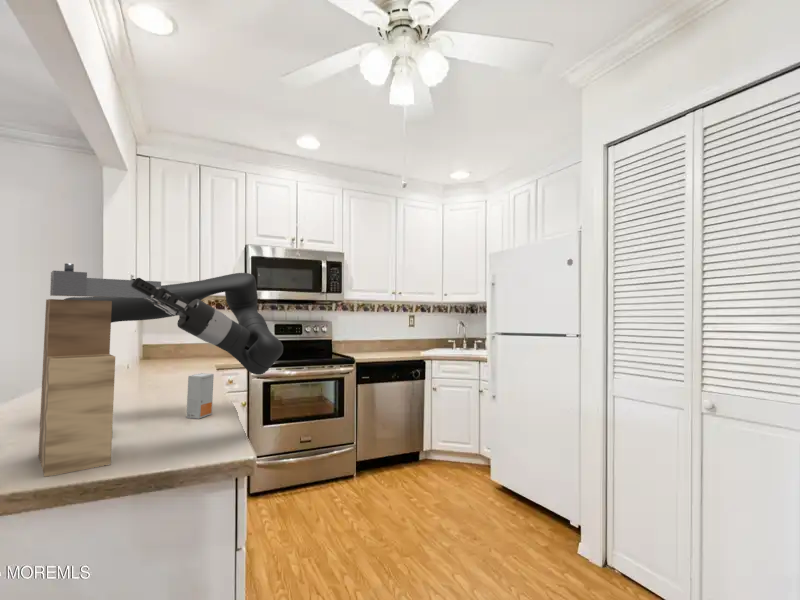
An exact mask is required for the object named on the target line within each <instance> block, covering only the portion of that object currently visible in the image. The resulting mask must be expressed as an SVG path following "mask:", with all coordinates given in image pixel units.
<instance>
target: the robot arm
mask: <svg viewBox="0 0 800 600" xmlns="http://www.w3.org/2000/svg"><path fill="white" fill-rule="evenodd" d="M131 280H135V281H134V282H133V284H132V287H133V288H135V289H137V290H139V291H141V292H143V293H144V294H146V295H148V296H149V295H150V294H151V295H150V297H151V298H127V297H88V296H69V297H67V298H64V299H62V300H93V301H112V310H111V324H112V323H117V322H130V321H131V322H133V321H135V322H137V321H148V320H149V321H150V320H159V319H164V318H171V317H177V316H178V319H177V323H176V324H177V327H178V329H181V330H182V331H185V332H186V333H188V334H190V335H192V336H193V337H196V338H198V339H200V340H201V341H203V342H205V343H208V344H211V345H213V346H216V347H217V348H219V349H221V350H223V351H225V352H227V353H228V354H230V355H231V356H232V357H233V359H236V360H237V362H239V363H240V364H241V365H242V366H243V368H245V369H246V370H247V371H248V372H249V373H250V374H253V375H263V374H265V373H266V372H268V371H269V369H270V368H271V367H272V366H273V365H274V364H275V363H276V362H277V361H278V359H279V358H280V357H281V356H282V355H283V353H284V345H283V343H282V341H281V340H280V339H278V338H277V337H276V336H275V335H274V334H273V333H272V332H271V331H270V328H269V326H268V323H267V322H266V319H265V318H264V316H263V315H262V314H261V313H259V310H258V298H259V297H258V289H257V281H256V276H255V275H254V274H252V273H248V272H237V273H229V274H225V275H220V276H215V277H212V278H208V279H206V278H205V279H201V280H196V281H188V282H181V283H174V284H165V285H162V284H161V288H160V287H155V286H153V285H151V284H150V283H148V282H146V281H147V280H144V279H142V278H141V277H136V278H131ZM220 293H224V295H225V302H226V304H227V306H228V308H229V309H230V311H231V313H233V315H234V316H235V318H236V320H237V321H235V320H233V319H231V318H230V317H229V316H227V315H226V314H224V313H223V312H221V311H219V310H218V309H216V308H214V307H213V306H211V305H209V304H207V303H205V301H202V300H204V299H205V298H207V297H209V296H213V295H216V294H220ZM246 347H247V348H249V349H246Z"/></svg>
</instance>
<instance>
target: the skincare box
mask: <svg viewBox="0 0 800 600" xmlns="http://www.w3.org/2000/svg"><path fill="white" fill-rule="evenodd" d="M214 376H215V374H214V373H204V372H203V373H202V372H201V373H194V374H192V375H188V379H187V395H186V396H187V397H186V400H187V401H186V414H185V417H186V418H187V419H198V420H199V419H202V418H205V417H208V416H211V415H213V400H214V399H213V398H214V397H213V396H214V394H213V393H214V379H215V377H214Z"/></svg>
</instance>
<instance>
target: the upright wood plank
mask: <svg viewBox="0 0 800 600" xmlns="http://www.w3.org/2000/svg"><path fill="white" fill-rule="evenodd" d="M111 310H112V301H93V300H63V299H59V298H58V299H56V298H55V299H54V298H53V299H52V298H48V299H45V312H44V315H45V316H44V317H45V318H44V335H43V357H42V376H41V378H42V379H41V396H40V398H41V399H40V414H39V415H40V419H39V434H38V435H39V437H38V439H39V440H38V453H37V454H38V455H37V456H38V459H40V460H39V462H40V466H41V469H42V473H43V477H45V478H46V477H51V476H58V475H61V474H68V473H73V472H79V471H83V470H89V469H95V468H99V466H100V467H105V466H104V465H106V466H109V465H108V464H111V465H112V446H113V445H112V443H113V423H114V422H113V420H114V396H115V375H116V356H115V355H112V354H110V352H111V331H112V330H111V329H112V323H111ZM94 467H95V468H94Z"/></svg>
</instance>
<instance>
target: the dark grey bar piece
mask: <svg viewBox="0 0 800 600" xmlns="http://www.w3.org/2000/svg"><path fill="white" fill-rule="evenodd" d="M74 267H75V265H74V263H64V270H52V271H51V272H50V289H49V291H50V292H49V293H50V294H49V295H50V296H53V297H56V296H57V297H127V298H151V297H150V295H151V294H150V295H149V296H148V295H146V294H144V293H143V292H141V291H139V290H137V289H135V288H133V287H132V284H133V282H134V281H135V280H132V279H119V278H118V279H116V278H97V277H95V278H94V277H88V272H86V271H85V272H84V271H83V272H82V271H74V269H75V268H74ZM145 281H146V282H148V283H150V284H151V285H153V286H155V287H160V288H161V286H162V281H156V280H145Z"/></svg>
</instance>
